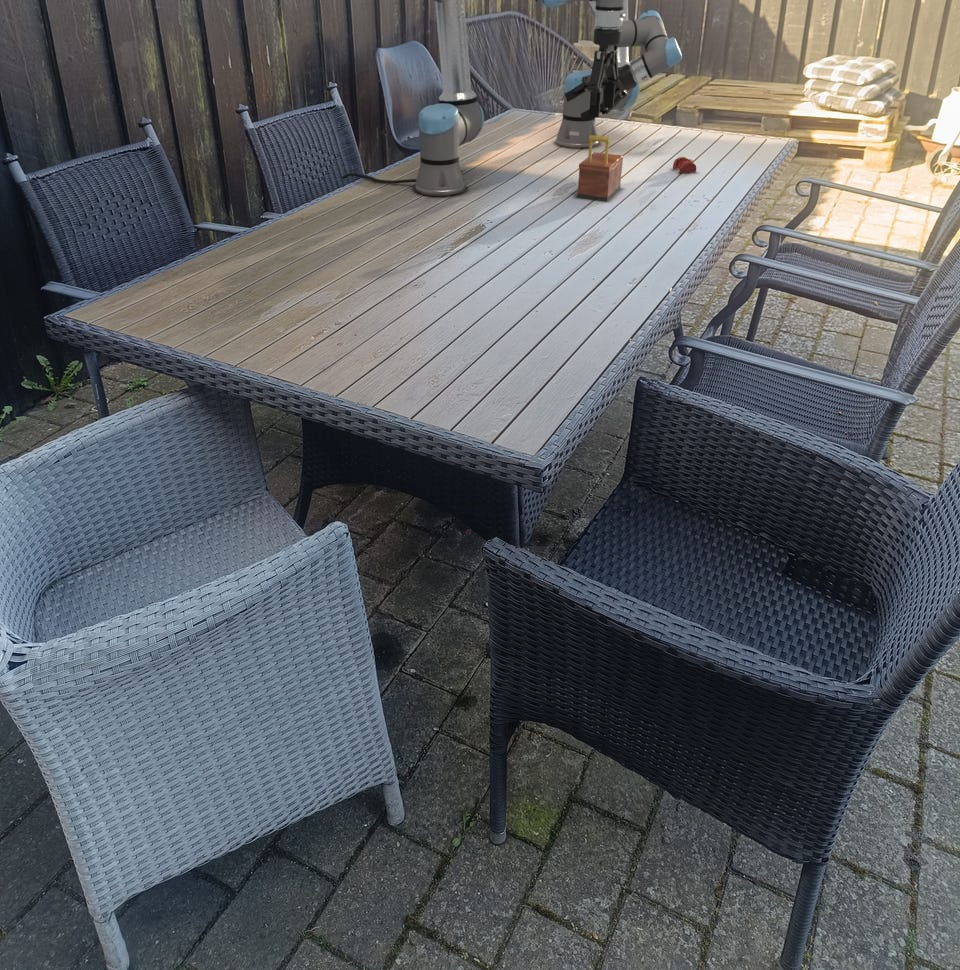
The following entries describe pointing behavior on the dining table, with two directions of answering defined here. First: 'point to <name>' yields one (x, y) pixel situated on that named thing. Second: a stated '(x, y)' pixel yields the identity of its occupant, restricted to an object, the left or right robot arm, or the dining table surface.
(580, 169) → the chest
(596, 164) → the lid
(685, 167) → the dental model
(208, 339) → the dining table surface
